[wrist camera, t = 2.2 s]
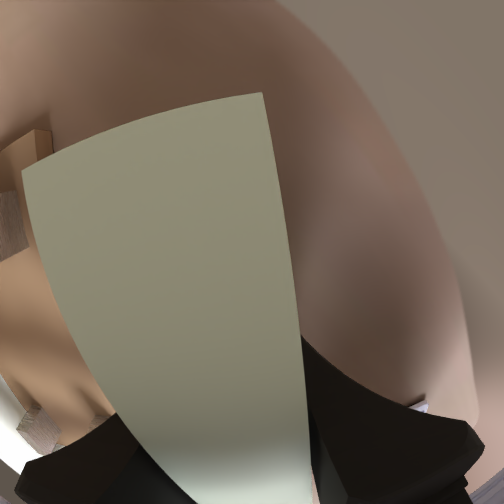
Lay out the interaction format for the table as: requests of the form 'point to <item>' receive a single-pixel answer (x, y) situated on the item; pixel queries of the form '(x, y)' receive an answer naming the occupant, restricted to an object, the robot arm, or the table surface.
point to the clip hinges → (3, 246)
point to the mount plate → (40, 320)
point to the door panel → (184, 293)
